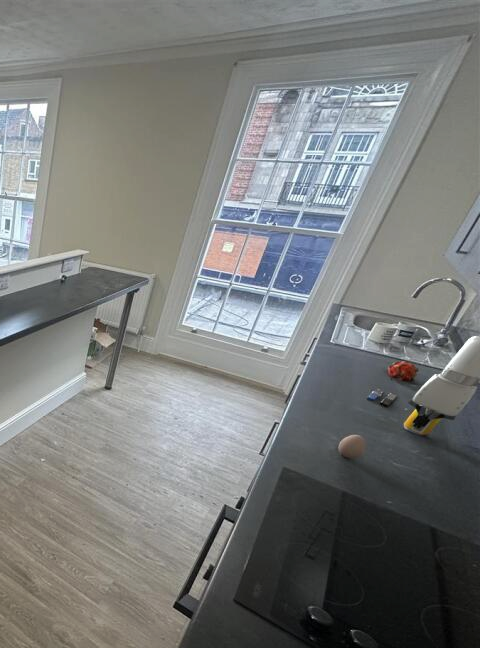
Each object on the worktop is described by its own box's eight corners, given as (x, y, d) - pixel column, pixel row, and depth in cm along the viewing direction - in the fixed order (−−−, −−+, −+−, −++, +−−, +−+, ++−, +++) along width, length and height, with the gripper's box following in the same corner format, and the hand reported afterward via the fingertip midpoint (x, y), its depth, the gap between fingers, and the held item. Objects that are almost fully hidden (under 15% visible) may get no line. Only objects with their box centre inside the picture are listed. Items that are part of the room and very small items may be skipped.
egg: (357, 457, 115) (373, 437, 111) (355, 465, 112) (371, 444, 108) (335, 447, 118) (349, 428, 115) (332, 455, 115) (346, 434, 111)
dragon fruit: (399, 379, 170) (391, 390, 164) (385, 363, 172) (376, 372, 166) (425, 371, 163) (418, 382, 157) (411, 354, 164) (402, 364, 159)
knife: (386, 407, 144) (388, 405, 143) (379, 404, 145) (380, 402, 145) (397, 396, 152) (398, 394, 152) (389, 393, 154) (391, 391, 153)
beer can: (424, 430, 132) (457, 392, 124) (428, 438, 128) (462, 399, 120) (400, 422, 135) (431, 384, 127) (403, 430, 131) (435, 391, 123)
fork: (374, 402, 147) (375, 399, 146) (365, 398, 148) (366, 396, 148) (384, 392, 154) (385, 390, 154) (375, 389, 156) (376, 387, 156)
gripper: (496, 386, 115) (450, 436, 125) (427, 363, 125) (389, 411, 135) (494, 392, 111) (446, 443, 121) (423, 368, 121) (384, 417, 130)
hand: (416, 426), depth 127 cm, fingers closed
